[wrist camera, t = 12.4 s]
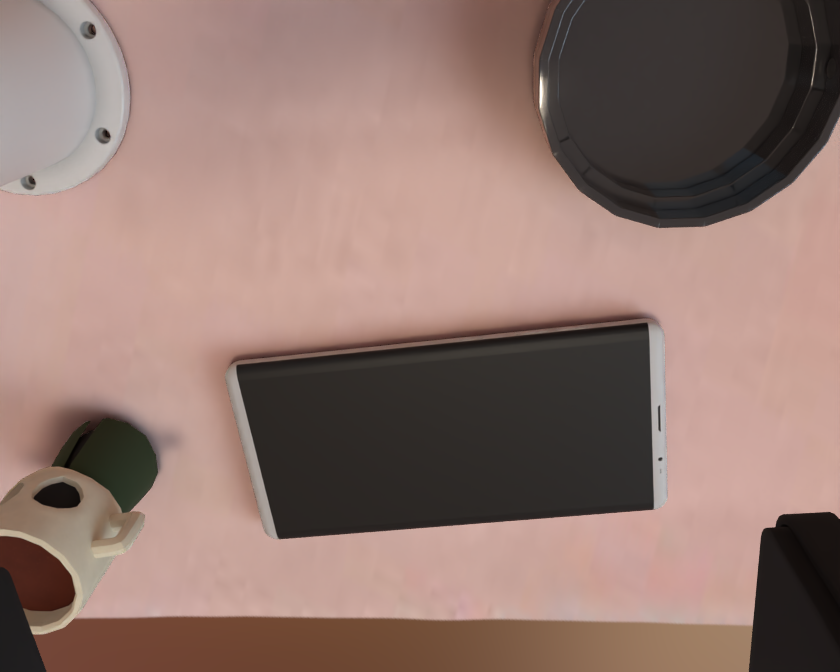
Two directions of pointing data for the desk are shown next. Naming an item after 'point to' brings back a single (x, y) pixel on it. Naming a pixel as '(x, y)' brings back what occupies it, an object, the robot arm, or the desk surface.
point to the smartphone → (456, 430)
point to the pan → (686, 101)
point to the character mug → (74, 520)
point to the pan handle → (831, 68)
